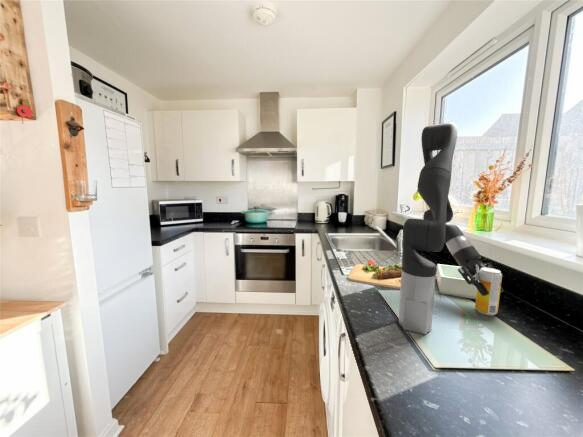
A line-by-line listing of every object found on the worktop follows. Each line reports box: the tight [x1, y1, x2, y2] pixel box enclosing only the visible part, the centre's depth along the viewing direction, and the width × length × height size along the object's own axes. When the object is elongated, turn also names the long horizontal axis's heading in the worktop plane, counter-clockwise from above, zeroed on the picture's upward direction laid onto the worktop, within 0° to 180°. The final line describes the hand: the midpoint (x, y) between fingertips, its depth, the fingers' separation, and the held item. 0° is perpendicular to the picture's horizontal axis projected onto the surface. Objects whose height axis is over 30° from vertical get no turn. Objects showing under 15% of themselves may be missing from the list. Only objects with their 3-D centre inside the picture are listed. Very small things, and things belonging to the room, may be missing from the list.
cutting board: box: [346, 259, 402, 290], centre depth 115 cm, size 35×23×8 cm
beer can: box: [474, 267, 503, 316], centre depth 83 cm, size 6×6×15 cm
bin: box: [435, 263, 477, 300], centre depth 103 cm, size 18×14×7 cm
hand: (493, 293), depth 82 cm, fingers open, 6 cm apart
